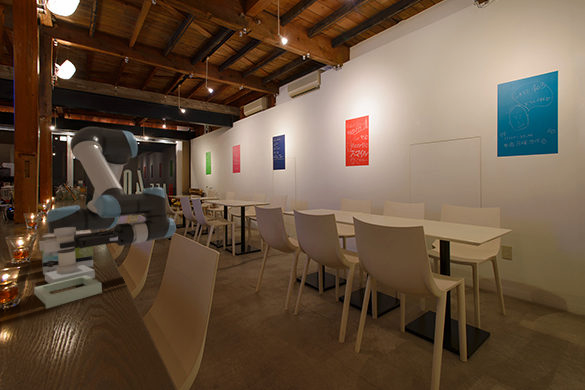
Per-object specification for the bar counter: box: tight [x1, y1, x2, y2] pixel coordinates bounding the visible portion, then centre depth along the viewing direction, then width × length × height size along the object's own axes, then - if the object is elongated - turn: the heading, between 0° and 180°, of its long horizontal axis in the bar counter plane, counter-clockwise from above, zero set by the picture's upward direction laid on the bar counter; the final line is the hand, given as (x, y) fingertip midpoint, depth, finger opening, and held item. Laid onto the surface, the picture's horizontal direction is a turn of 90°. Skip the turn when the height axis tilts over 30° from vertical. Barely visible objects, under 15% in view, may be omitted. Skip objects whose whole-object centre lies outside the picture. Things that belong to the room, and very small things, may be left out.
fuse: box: [54, 227, 78, 274], centre depth 82 cm, size 5×5×13 cm
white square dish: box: [44, 265, 96, 284], centre depth 95 cm, size 11×11×4 cm
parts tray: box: [33, 275, 103, 310], centre depth 83 cm, size 13×13×3 cm
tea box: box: [41, 230, 94, 276], centre depth 108 cm, size 15×10×15 cm
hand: (42, 247), depth 78 cm, fingers closed on fuse, 4 cm apart
